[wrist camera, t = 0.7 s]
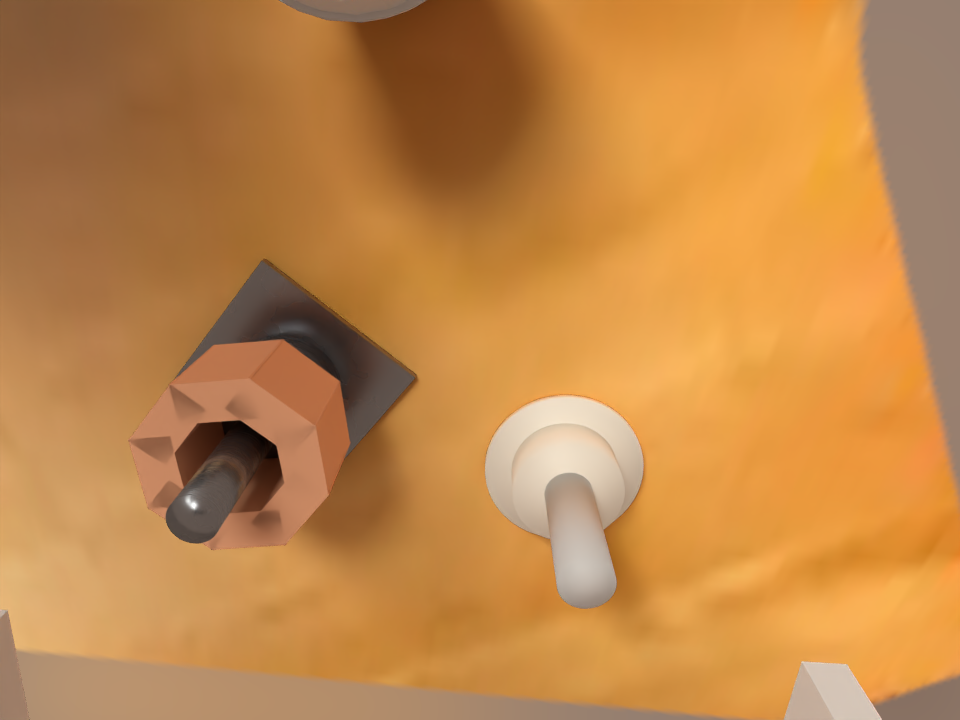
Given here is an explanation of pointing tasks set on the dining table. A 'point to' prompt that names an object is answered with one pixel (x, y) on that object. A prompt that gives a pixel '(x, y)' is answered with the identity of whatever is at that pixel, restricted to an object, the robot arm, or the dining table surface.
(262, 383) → the collar
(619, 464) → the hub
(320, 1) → the disposable coffee cup
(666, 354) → the dining table surface
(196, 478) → the stand
